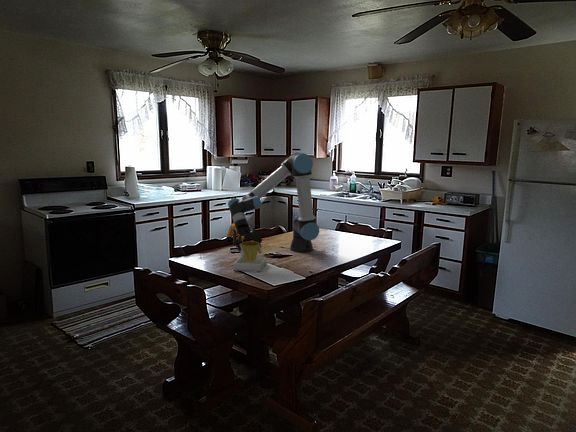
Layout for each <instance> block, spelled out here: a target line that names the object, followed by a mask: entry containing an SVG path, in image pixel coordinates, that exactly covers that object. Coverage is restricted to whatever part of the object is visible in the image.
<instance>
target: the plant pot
mask: <svg viewBox="0 0 576 432" xmlns="http://www.w3.org/2000/svg"><path fill="white" fill-rule="evenodd" d="M240 244H241V245H242V248H243V251H244V256H243V257H244V260H245V261H255V260H256V257H258V256H257V255H258V253H259V252H258V250H259V243H258V242H255V241H253V240H246V241H243V242H242V241H241V242H240Z"/></svg>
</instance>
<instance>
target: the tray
mask: <svg viewBox="0 0 576 432" xmlns="http://www.w3.org/2000/svg"><path fill="white" fill-rule="evenodd" d="M266 266H267V257H262V256H256V260H255V261H245V260H244V257H242V256H241V255H240V256H239V257H238V258H237V259H236V260H235V261H234V262H233V263H232V269H233V271H235V272H238V271H239V272H250V271H257V272H256V273H261V272H262V271H263V270H264V269H265V267H266ZM262 269H263V270H262Z"/></svg>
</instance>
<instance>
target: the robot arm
mask: <svg viewBox="0 0 576 432" xmlns="http://www.w3.org/2000/svg"><path fill="white" fill-rule="evenodd" d="M313 164H314V162H313V159H312V157H311V156H310V155H309V154H308V153H304V152H295V153H292V154H291V155H290V156H289V157H287V158H286V159H285V160H284V161H283V162H282V163H280V167H278V168H277V169H275V170H274V171H273V172H272V173H271V174H270V175H268V177H266V178H265V179H264V180H263V181H261V182H260V183H259V184H258V185H257V186H256V187H254V189H252V190H250V192H248V193H247V194H244V195H243V196H242V198H241V200H240V199H239V198H231V199H230V200H228V202H227V206H228V210H229V212H230V215H231V218H232V221H233V224H235V227H236V229H237V230H235V229H234V230H233V231H232V233H233V241H232V246H233V247H236V248H237V250H238V252H240V256H242V257H243V256H244V251H243V248H242V245H241V242H242V241H241V237H242V236H244V237H248V238H250V239H251V241H255V242H258V243H259V250H258V252H257V253H258V254H259V255H261V254H262V253H263V251H262V245H261V243H263V239H262V238H261V236H260V234H259V233H258V232H257V230H256V228H255V227H252V228H250V226H249V223H248V220H247V217H246V214H245V213H248V212H251V211H254V210H258V209H260V208H262V207H263V203H262V201H261V200H262V198H263V197H264V196H265V195H267V194H268V193H269V192H270V191H272V190H273V189H274V188H275V187H276V186H277V185H278V184H280V183H281V182H283V180H285V179H286V178H287V177H288V176H292V177H293V178H295V183H296V194H297V203H298V212H299V215H295V216H293V219H292V222H293V226H292V229H293V231H292V234H293V235H292V240H291V243H290V246H289V247H290V248H289V249H290V251H293V252H297V253H309V252H312V251H314V250H313V249H314V246H313V243H312V241H314V240H315V239H317V237H318V236H319V234H320V227H319V224H317V217H316V216H315V215H314V207H313V198H312V189H311V188H312V187H311V178H310V177H311V176H312V172H313V171H312V169H313ZM236 233H238V234H239V238H238V242H236Z"/></svg>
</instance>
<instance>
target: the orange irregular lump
mask: <svg viewBox="0 0 576 432" xmlns="http://www.w3.org/2000/svg"><path fill="white" fill-rule="evenodd" d="M234 229H235V230H237V229H236V227H235V224H234V223H231V224H230V226H229V229H228V232H227V234H226V238H227V237H232V236H233V233H232V231H233V230H234ZM236 236H238V237H236V239H238V238H239V234H238V233H236ZM243 240H245V236H242V237H241V241H240V242H242V241H243Z"/></svg>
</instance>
